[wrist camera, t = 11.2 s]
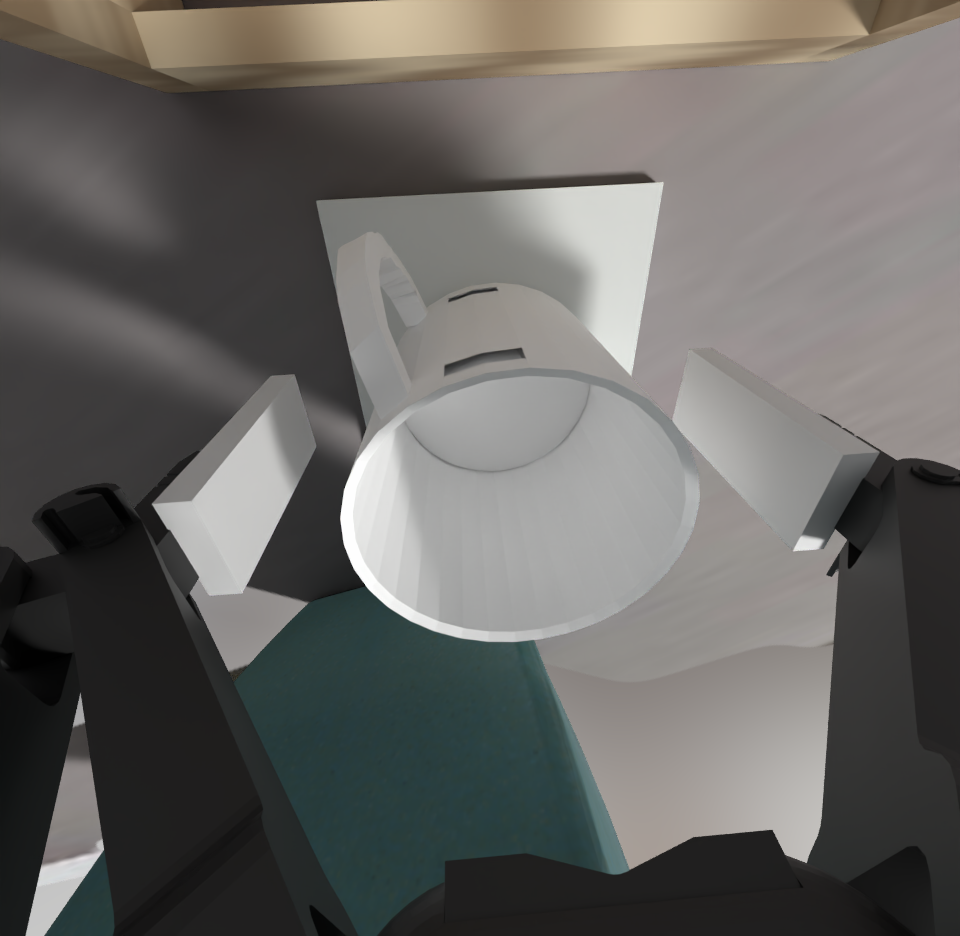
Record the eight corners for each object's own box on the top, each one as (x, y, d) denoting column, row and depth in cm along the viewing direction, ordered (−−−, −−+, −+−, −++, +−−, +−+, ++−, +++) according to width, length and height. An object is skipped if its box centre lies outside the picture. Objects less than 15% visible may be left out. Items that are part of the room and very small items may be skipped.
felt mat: (380, 476, 22) (378, 483, 21) (320, 200, 15) (315, 200, 14) (612, 462, 22) (615, 468, 21) (656, 182, 15) (663, 182, 15)
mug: (616, 434, 20) (717, 589, 12) (446, 498, 22) (441, 670, 14) (534, 144, 14) (634, 89, 6) (303, 266, 15) (150, 346, 8)
